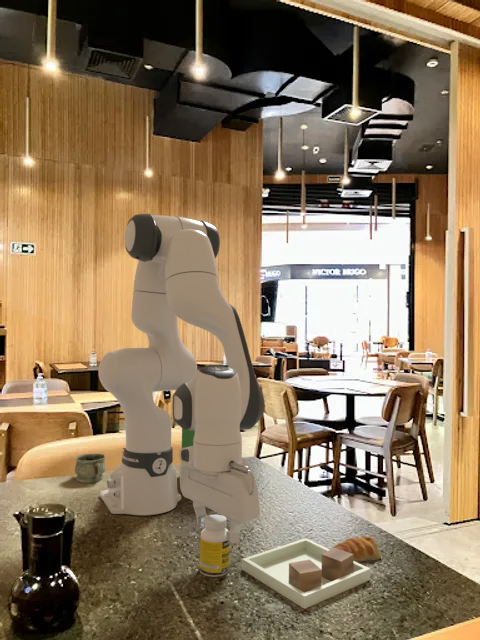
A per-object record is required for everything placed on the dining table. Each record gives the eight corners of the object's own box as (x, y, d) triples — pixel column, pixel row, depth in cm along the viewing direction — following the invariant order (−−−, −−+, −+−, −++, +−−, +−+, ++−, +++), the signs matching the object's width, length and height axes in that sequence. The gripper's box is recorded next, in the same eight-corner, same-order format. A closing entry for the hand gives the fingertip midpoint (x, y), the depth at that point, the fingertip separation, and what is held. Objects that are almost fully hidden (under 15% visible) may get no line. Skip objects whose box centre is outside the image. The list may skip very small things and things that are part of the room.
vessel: (114, 480, 148) (114, 458, 148) (84, 486, 142) (85, 463, 142) (95, 471, 157) (95, 450, 157) (66, 476, 151) (67, 455, 151)
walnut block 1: (288, 586, 87) (288, 563, 87) (309, 582, 89) (309, 559, 89) (300, 598, 84) (300, 573, 84) (321, 594, 85) (321, 569, 85)
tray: (242, 572, 93) (242, 558, 94) (305, 550, 103) (305, 538, 103) (304, 612, 81) (304, 596, 81) (370, 583, 90) (370, 568, 90)
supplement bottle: (225, 581, 90) (226, 525, 90) (195, 578, 91) (196, 522, 91) (232, 567, 96) (233, 514, 96) (204, 564, 97) (204, 511, 97)
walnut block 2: (321, 577, 91) (321, 554, 91) (333, 569, 94) (334, 547, 94) (341, 585, 88) (341, 561, 88) (353, 576, 91) (353, 554, 91)
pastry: (341, 570, 95) (341, 549, 96) (322, 555, 102) (323, 536, 102) (383, 562, 99) (383, 542, 99) (363, 548, 105) (363, 529, 105)
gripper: (268, 465, 87) (268, 548, 87) (201, 444, 103) (201, 514, 103) (238, 471, 83) (238, 558, 83) (174, 448, 100) (173, 521, 99)
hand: (217, 533), depth 93 cm, fingers open, 8 cm apart
